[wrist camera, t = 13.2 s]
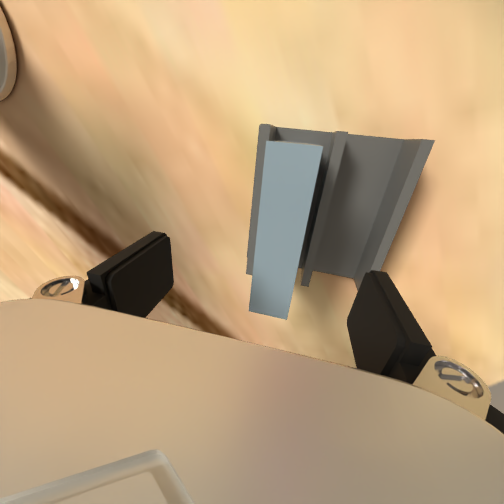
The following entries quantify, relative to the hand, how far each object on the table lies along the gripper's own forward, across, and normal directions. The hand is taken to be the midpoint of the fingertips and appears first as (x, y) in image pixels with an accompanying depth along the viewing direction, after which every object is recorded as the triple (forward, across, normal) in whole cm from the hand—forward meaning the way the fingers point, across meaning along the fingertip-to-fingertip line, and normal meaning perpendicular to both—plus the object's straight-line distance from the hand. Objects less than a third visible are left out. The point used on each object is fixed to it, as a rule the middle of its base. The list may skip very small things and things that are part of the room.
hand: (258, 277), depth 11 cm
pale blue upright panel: (+14, -1, 0) cm, 14 cm away
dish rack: (+15, -4, 0) cm, 16 cm away
